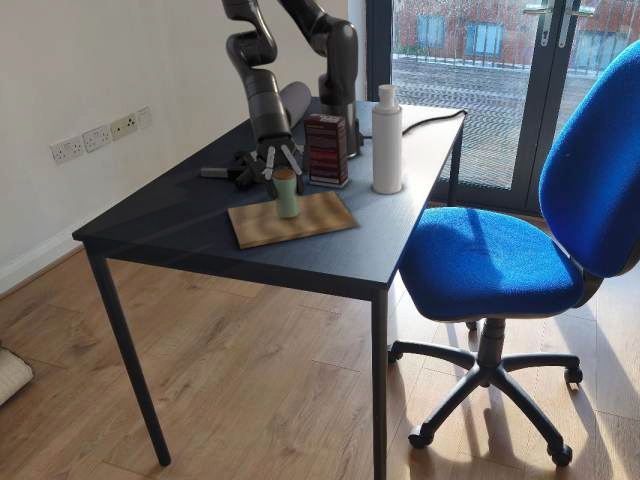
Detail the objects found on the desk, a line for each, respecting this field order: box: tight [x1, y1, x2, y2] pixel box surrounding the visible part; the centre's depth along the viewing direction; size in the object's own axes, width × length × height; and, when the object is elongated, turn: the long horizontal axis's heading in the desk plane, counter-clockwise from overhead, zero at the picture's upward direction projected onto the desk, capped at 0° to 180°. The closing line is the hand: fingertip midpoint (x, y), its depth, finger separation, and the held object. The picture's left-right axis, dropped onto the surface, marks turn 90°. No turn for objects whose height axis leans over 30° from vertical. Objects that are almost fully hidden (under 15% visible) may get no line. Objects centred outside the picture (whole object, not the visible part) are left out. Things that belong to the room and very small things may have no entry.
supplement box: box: [303, 112, 349, 189], centre depth 130 cm, size 9×5×16 cm, turn 71°
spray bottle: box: [371, 84, 403, 195], centre depth 124 cm, size 7×7×25 cm
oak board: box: [227, 190, 357, 250], centre depth 119 cm, size 24×16×1 cm, turn 111°
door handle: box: [199, 149, 267, 191], centre depth 139 cm, size 3×20×16 cm
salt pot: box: [271, 168, 300, 218], centre depth 115 cm, size 5×5×9 cm
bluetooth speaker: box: [279, 80, 312, 130], centre depth 165 cm, size 23×9×10 cm, turn 172°
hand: (288, 196), depth 114 cm, fingers closed on salt pot, 5 cm apart
